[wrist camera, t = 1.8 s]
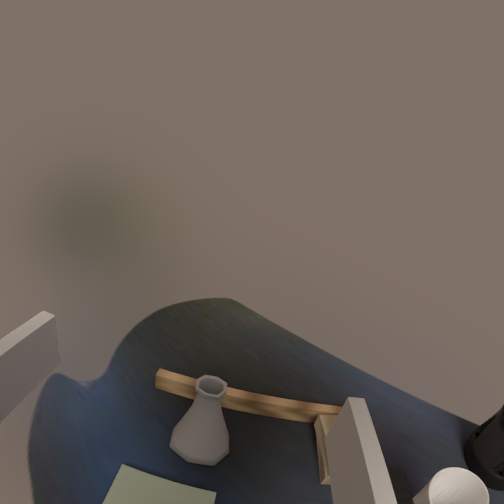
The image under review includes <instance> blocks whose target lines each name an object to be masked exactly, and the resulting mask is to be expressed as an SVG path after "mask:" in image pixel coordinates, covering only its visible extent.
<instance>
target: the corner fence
mask: <svg viewBox="0 0 504 504" xmlns="http://www.w3.org/2000/svg"><path fill="white" fill-rule="evenodd" d="M196 381H197V379H194V378H191V377H187V376H184V375H180V374H177V373H173V372H170V371H167V370H164V369H161V368H160V369H159V370H158V372H157V374H156V382H155V388H157V389H160V390H163V391H167V392H170V393H173V394H176V395H180V396H183V397H187V398H190V399H194V400H195V398H196V395H197V392H196V391H195V387H196ZM221 407H225V408H230V409H234V410H239V411H243V412H248V413H253V414H258V415H264V416H269V417H275V418H281V419H288V420H294V421H302V422H310V423H315V421H316V419H317V418H318V416H319V415H338V414H339V413H340V411H341V409H342V406H333V405H325V404H317V403H309V402H303V401H296V400H290V399H284V398H278V397H273V396H267V395H262V394H257V393H252V392H247V391H243V390H238V389H234V388H230V387H227V393H226V394H225V395H224V396H223V397H222V401H221Z"/></svg>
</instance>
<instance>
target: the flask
mask: <svg viewBox="0 0 504 504" xmlns="http://www.w3.org/2000/svg"><path fill="white" fill-rule="evenodd" d="M195 391H196V392H197V395H196V398H195V400H194V402H193V404H192V406H191V407H190V409H189V410H188V411H187V413H186V414H185V415H184V417H183V418H182V419H181V420H180V421H179V422H178V424H177V425H176V426H175V427H174V428H173V430H172V434H171V439H170V444H169V447H170V448H171V449H172V450H173V451H174V452H176V453H177V454H178V455H179V456H181V457H182V458H183V459H184V460H186V461H187V462H190V463H196V464H202V465H209V466H214V465H216V464H217V463H218V462H219V461H220V460H222V459H223V458H224V457H225V456H226V455H227V454H229V433H228V430H227V427H226V424H225V421H224V417H223V413H222V409H221V401H222V397H223V396H224V395H225V394H226V393H227V383H226V382H225V381H223V380H221V379H220V378H218V377H215V376H210V375H204V376H202V377H200V378H198V379H197V381H196V387H195Z"/></svg>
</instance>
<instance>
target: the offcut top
mask: <svg viewBox="0 0 504 504" xmlns="http://www.w3.org/2000/svg"><path fill="white" fill-rule="evenodd" d="M337 416H338V415H319V416H318V418H317V419H316V421H315V423H314V427H315V431H316V435H317V438H318V442H319V446H320V450H321V453H322V457H323V461H324V464H325V468H326V472H327V476H328V477H330V474H329V467H328V459H327V452H326V445H325V437H326V435H327V433H328V432H329V430H330V428H331V427H332V425H333V423H334V421H335V420H336V418H337Z"/></svg>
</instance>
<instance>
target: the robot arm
mask: <svg viewBox="0 0 504 504" xmlns="http://www.w3.org/2000/svg"><path fill="white" fill-rule="evenodd" d="M59 364H60V357H59V349H58V341H57V332H56V321H55V316H54V315H52V314H50V313H48V312H46V311H42V312H41V313H39V314H37V315H36V316H34V317H33V318H32V319H30V320H28V321H27V322H25V323H24V324H23V325H21V326H20V327H18V328H17V329H15V330H14V331H12V332H11V333H9V334H8V335H6V336H5V337H4V338H2V339H1V340H0V423H1V422H2V421H3V420H4V419H5V418H6V417H7V415H8V414H9V413H10V412H11V411H12V410H13V409H14V408H15V407H16V406H17V405H18V404H19V403H20V402H21V401H22V400H23V399H24V398H25V397H26V396H27V395H28V394H29V393H30V392H31V391H32V390H33V389H34V388H35V387H36V386H37V385H38V384H39V383H40V382H41V381H42V380H43V379H44V378H45V377H46V376H47V375H48V374H49V373H50V372H52V371H53V370H54V369H55V368H56V367H57V366H58V365H59ZM325 445H326V452H327V459H328V467H329V474H330V482H331V490H332V498H333V504H414V503H413V500H412V498H411V493H410V490H408V488H409V487H408V484H407V481H406V478H405V476H404V475H403V474H402V473H401V471H400V470H399V469H398V468H387V467H386V463H385V460H384V457H383V454H382V451H381V447H380V444H379V441H378V438H377V435H376V432H375V429H374V426H373V423H372V420H371V417H370V414H369V411H368V408H367V405H366V402H365V400H364V398H354V397H348V398H347V400H346V402H345V404H344V405H343V407H342V409H341V411H340V413H339V414H338V416H337V418H336V420H335V421H334V423H333V425H332V427H331V428H330V430H329V432H328V433H327V435H326V437H325ZM465 458H466V461H467V464H468V466H469V468H470V470H471V471H472V472H473V473H474V474H475V475H477V476H478V477H479V478H480V479H481V480H482V481H483V483H484V484H485V485H486V486H488V487H490V488H493V489H496V490H504V405H503V406H502V408H501V409H500V410H499V411H498V412H497V413H496V414H494V415H493V416H492V417H491V418H489V419H488V420H487V421H486V422H485V423H483V424H482V425H481V426H479V427H478V428H477V429H476V430H475V431H474V432H473V434H472V435H471V436H470V437H469V439H468V440H467V442H466V444H465Z"/></svg>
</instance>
